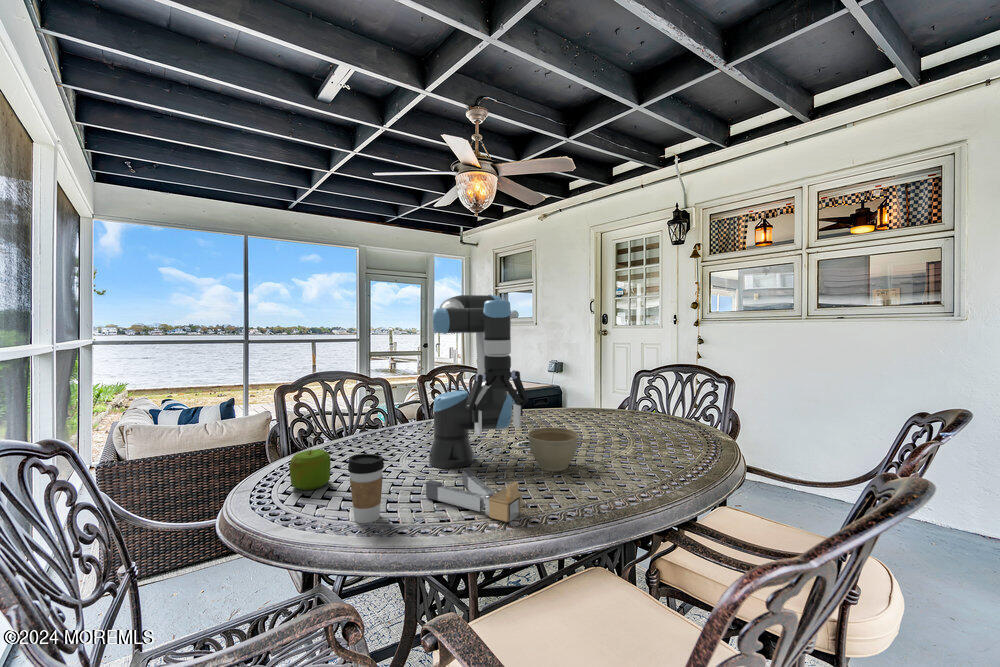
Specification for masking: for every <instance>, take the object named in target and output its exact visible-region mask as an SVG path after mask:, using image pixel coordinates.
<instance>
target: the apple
mask: <svg viewBox="0 0 1000 667" xmlns="http://www.w3.org/2000/svg"><path fill="white" fill-rule="evenodd" d="M331 460H332V459H331V455H330V453H329V452H328V451H326V449H321V448H317V449H308V450H304V451H301V452H297V453H296V454H294V455H293V456H292V457H291V459H290V462H289V466H288V469H289V477H290V485H291V486H293V487H294V488H296V489H298V490H301V491H313V490H314V491H315V490H317V489H320V488H322V487H324V486H325V485H326V484H327V483H328V482H329V481H331V480H330V479H331V464H332V462H331Z"/></svg>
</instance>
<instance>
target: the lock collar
mask: <svg viewBox="0 0 1000 667" xmlns="http://www.w3.org/2000/svg"><path fill="white" fill-rule="evenodd" d="M495 493H496V494H494V495H493V496H491V497H490V498H489V516H488V517H489V518H490V519H494V520H497V521H498V520H499V521H502V522H505V523H508V522H510V521H509V504H510V503H511V502H513V501H514V500H515V499H519V513H521V512H522V492H521V491H519V482H518V481H513V482H511V483H510V484H508V485H507V486H506V487H505V488H502V489H500V490H498V492H495Z"/></svg>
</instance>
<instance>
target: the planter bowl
mask: <svg viewBox="0 0 1000 667" xmlns="http://www.w3.org/2000/svg"><path fill="white" fill-rule="evenodd" d="M527 437H528V442H529V443H528V444H529V448H530V452H531V455H532V456H533V458H534V460H535V461H536V463H537V466H538V468H539V469H541V470H543V471H547V472H562V471H565V470H567V469H568V468H569V464H570V463H571V461H572V460H573V458H574V457H575V455H576V452H577V449H578V443H579V442H578V440H579V434H578V432H576V431H575V430H571V429H568V428H562V427H539V428H536V429H531V430H530V431H528V435H527Z"/></svg>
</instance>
